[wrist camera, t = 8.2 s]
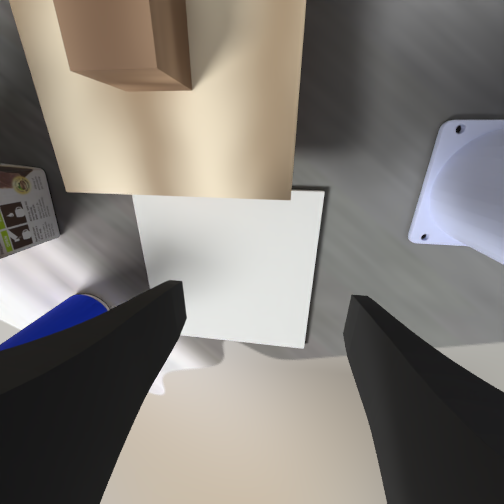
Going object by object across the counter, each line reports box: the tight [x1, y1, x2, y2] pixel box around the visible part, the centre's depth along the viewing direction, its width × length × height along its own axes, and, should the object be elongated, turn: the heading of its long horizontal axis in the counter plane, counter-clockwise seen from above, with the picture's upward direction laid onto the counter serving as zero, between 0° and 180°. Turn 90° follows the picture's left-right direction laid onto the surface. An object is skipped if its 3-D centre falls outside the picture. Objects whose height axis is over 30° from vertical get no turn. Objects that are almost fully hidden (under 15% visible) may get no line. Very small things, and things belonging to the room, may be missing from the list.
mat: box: [132, 190, 325, 349], centre depth 21 cm, size 15×15×1 cm
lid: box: [9, 0, 306, 200], centre depth 10 cm, size 14×14×4 cm
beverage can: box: [0, 294, 110, 351], centre depth 19 cm, size 5×5×15 cm
